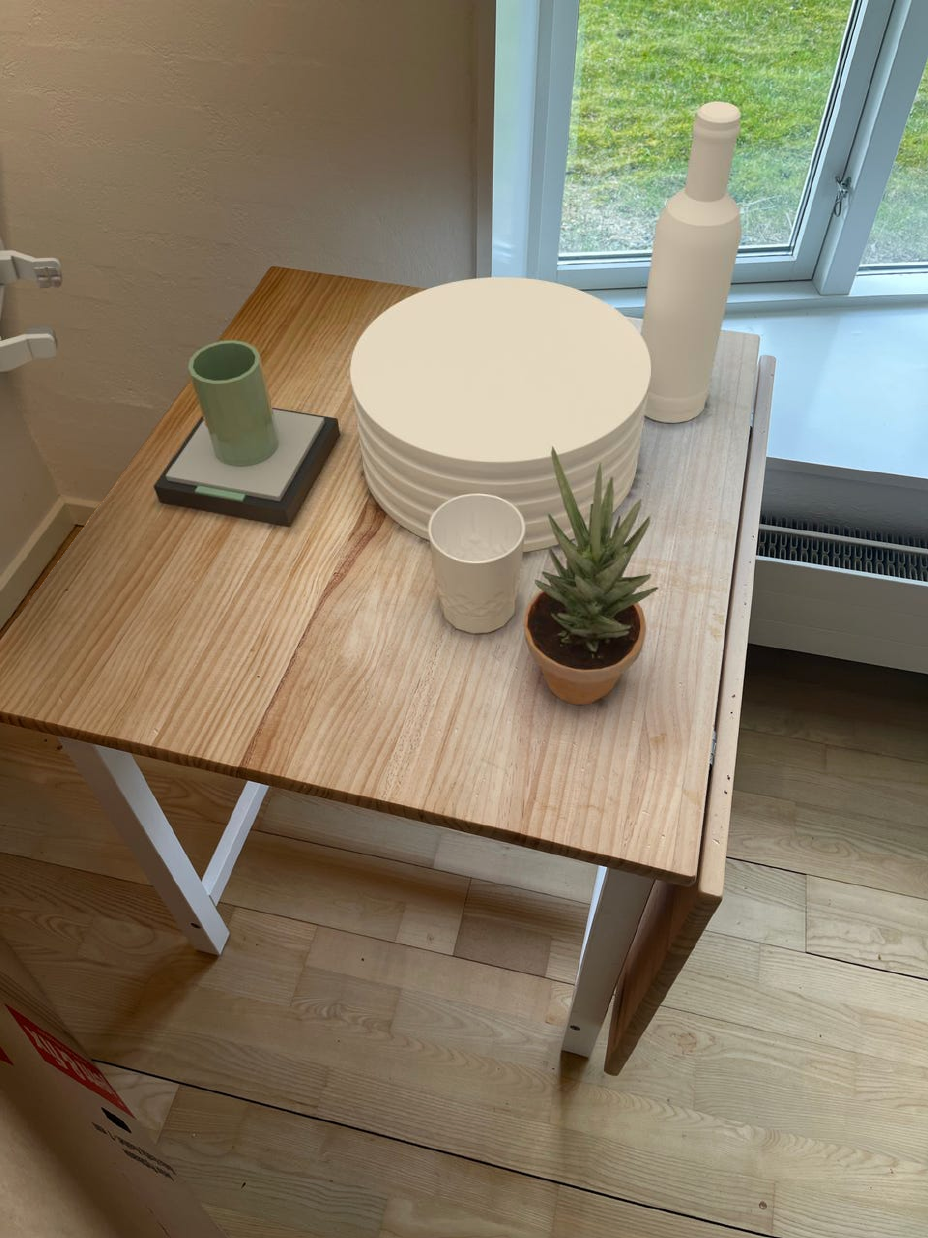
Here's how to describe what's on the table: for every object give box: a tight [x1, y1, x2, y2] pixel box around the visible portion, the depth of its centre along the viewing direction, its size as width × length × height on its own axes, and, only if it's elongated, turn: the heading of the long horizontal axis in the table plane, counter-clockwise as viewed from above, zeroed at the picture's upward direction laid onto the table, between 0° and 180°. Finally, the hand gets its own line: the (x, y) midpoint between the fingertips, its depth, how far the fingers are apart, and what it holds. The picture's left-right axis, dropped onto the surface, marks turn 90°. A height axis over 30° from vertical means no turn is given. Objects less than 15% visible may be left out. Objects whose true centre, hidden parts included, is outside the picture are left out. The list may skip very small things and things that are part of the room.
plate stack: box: [349, 276, 651, 553], centre depth 93 cm, size 28×28×12 cm
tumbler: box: [187, 339, 279, 467], centre depth 91 cm, size 6×6×10 cm
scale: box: [153, 407, 341, 528], centre depth 96 cm, size 14×14×3 cm
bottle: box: [640, 101, 743, 424], centre depth 90 cm, size 8×8×30 cm
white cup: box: [428, 493, 525, 634], centre depth 81 cm, size 8×8×10 cm
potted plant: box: [523, 446, 659, 706], centre depth 70 cm, size 10×10×25 cm
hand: (58, 305), depth 74 cm, fingers open, 8 cm apart
